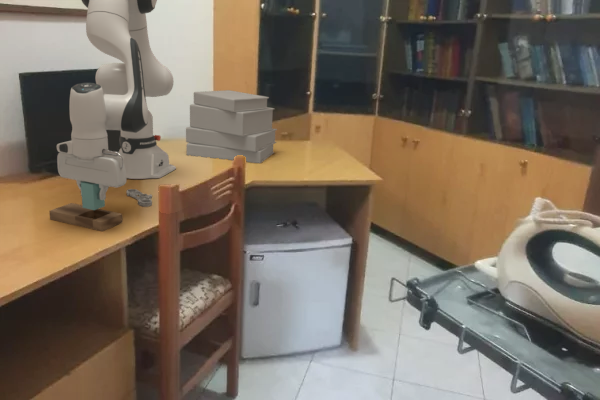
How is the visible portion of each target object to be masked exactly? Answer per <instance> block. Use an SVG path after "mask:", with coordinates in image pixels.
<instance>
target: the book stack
mask: <svg viewBox="0 0 600 400" xmlns="http://www.w3.org/2000/svg"><path fill="white" fill-rule="evenodd" d="M269 98H270V97H269V96H265V95H258V94H252V93H248V92H246V93H245V92H241V91H235V90H230V89H226V90H211V91H210V90H208V91H194V92H193V103H192V104H191V103H190V105H189V126H187V127H186V128H185V143H186V156H189V155H191V157H198V156H201V157H200V158H207V157H210V159H216V158H219V159H218V160H225V159H228V161H234V160H233V159H234V157H235V156H237V155H243V156H245V157H246V161H247V162H246V163H254V164H262V163H263V162H264V161H265V160H267V159H268V158H270V157H271V156H272V155H273V154H275V151H274V144H277V141H276V131H278V129H277V128H273V111H274V110H275V108H273V107H268V99H269Z"/></svg>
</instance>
